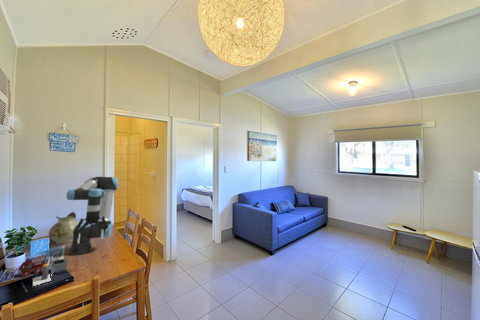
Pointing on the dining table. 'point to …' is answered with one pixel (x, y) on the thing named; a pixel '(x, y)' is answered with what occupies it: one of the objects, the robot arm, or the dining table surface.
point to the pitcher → (63, 229)
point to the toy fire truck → (35, 264)
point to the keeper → (43, 276)
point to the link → (58, 265)
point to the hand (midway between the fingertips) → (90, 240)
